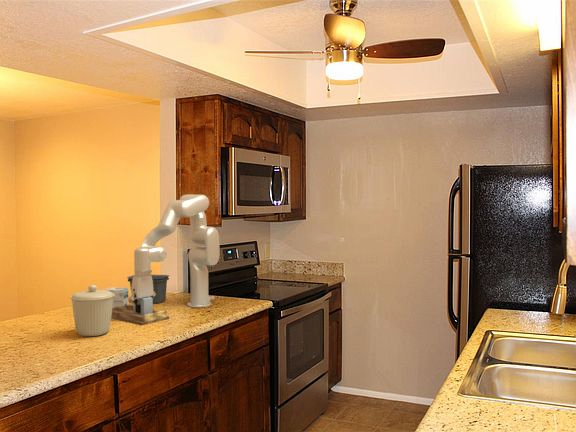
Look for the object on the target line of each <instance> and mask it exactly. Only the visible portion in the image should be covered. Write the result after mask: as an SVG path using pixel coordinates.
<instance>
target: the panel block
mask: <svg viewBox="0 0 576 432" xmlns="http://www.w3.org/2000/svg"><path fill="white" fill-rule="evenodd" d="M134 299H135V298H134ZM137 301H138V300H137ZM132 303H133V302H132ZM132 305H133V314H136V315H140V316H143V315H146V314H151V313H153V310H154V309H153V308H154V307H153V305H154V303H153V298H151V297H145V298H141V299H140V305H141V313H136V311H135V304H134V303H133V304H132Z"/></svg>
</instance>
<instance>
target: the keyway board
mask: <svg viewBox="0 0 576 432" xmlns="http://www.w3.org/2000/svg"><path fill="white" fill-rule="evenodd" d="M169 319H170V316H169V315H168V310H165V309H164V310H160V311H159V310H156V309H155V310H154V309H153V313H151V314H146V315H143V316H140V315H136V314H133V304H129V305H124V306H119V307H114V308H112V316H111V320H117V321H120V322H121V321H122V322H126V323H130V324H134V325H140V326H144V325H145V326H146V325H149V324H153V323H154V324H155V323H157V322H158V323H159V322H162V321H165V320H169Z"/></svg>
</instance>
